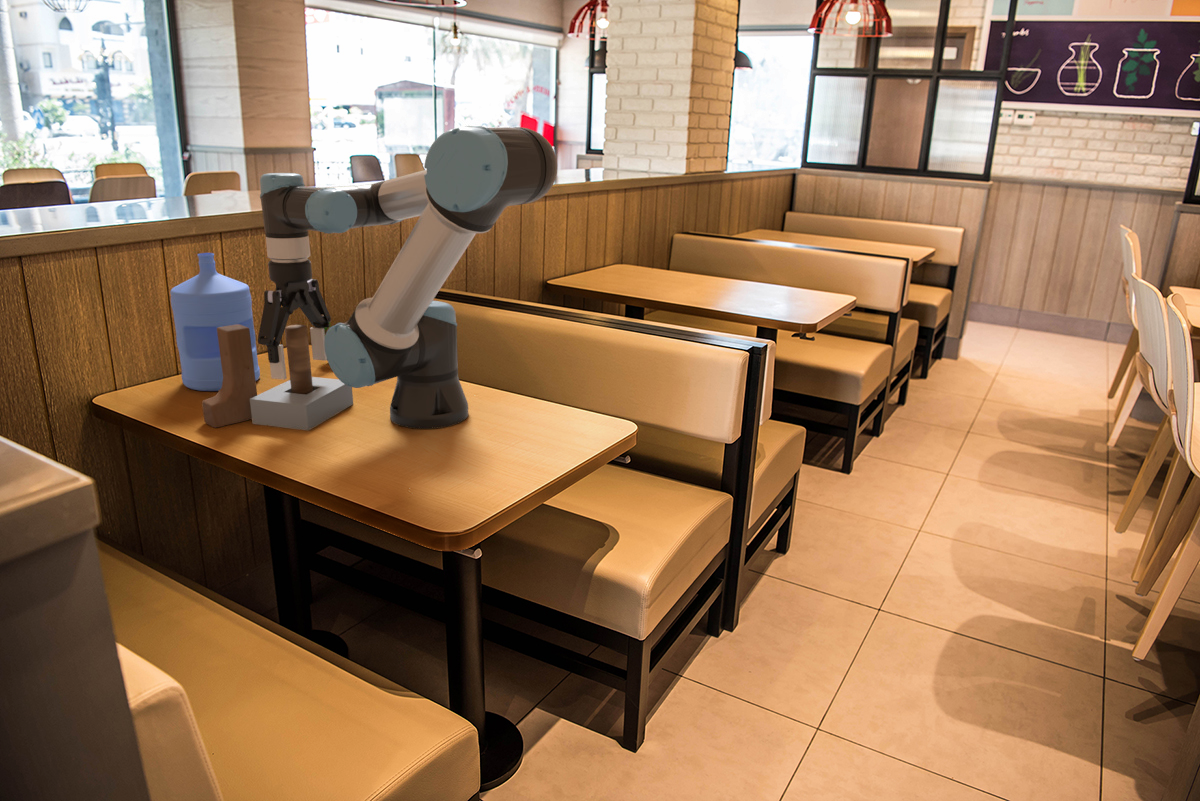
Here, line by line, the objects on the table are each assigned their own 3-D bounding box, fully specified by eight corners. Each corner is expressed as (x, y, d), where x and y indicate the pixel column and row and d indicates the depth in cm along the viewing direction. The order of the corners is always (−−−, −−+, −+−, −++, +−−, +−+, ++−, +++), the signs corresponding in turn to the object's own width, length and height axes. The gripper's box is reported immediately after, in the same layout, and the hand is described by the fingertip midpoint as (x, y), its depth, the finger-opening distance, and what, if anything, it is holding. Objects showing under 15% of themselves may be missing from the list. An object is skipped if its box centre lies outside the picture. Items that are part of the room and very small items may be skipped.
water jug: (173, 379, 182) (154, 252, 173) (245, 367, 192) (230, 246, 183) (196, 397, 171) (177, 262, 162) (271, 383, 181) (257, 255, 172)
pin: (318, 404, 164) (311, 325, 159) (306, 410, 160) (299, 330, 155) (300, 402, 165) (292, 324, 160) (288, 408, 161) (280, 328, 156)
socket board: (301, 398, 172) (299, 375, 170) (353, 404, 169) (351, 380, 168) (252, 423, 157) (249, 398, 156) (308, 430, 154) (305, 405, 153)
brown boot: (214, 428, 154) (201, 335, 148) (203, 423, 157) (190, 330, 151) (260, 417, 161) (250, 327, 155) (250, 412, 163) (239, 323, 158)
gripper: (309, 248, 166) (319, 351, 173) (227, 268, 143) (241, 385, 150) (343, 251, 164) (351, 354, 171) (265, 271, 141) (278, 389, 148)
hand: (300, 368), depth 160 cm, fingers open, 13 cm apart
